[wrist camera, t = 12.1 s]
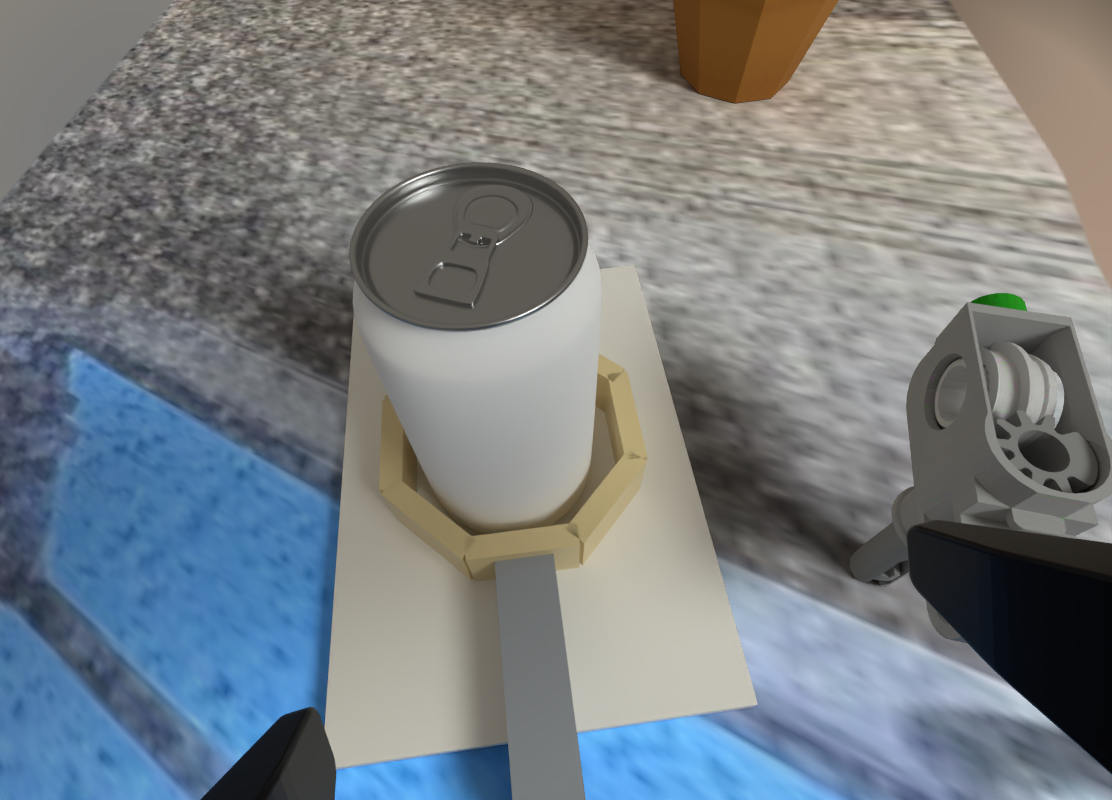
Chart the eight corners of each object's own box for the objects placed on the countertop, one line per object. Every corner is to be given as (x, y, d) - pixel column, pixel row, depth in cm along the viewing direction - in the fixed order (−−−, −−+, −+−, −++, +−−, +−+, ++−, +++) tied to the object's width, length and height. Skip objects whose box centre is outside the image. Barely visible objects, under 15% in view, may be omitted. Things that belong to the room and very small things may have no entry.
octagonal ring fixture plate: (776, 806, 19) (816, 812, 16) (325, 879, 18) (277, 900, 15) (624, 247, 32) (630, 194, 29) (363, 274, 31) (341, 222, 28)
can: (608, 418, 25) (635, 175, 15) (563, 562, 22) (560, 376, 12) (466, 381, 26) (403, 133, 16) (404, 514, 23) (275, 306, 13)
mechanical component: (833, 704, 20) (1027, 653, 12) (828, 444, 25) (958, 279, 17) (925, 727, 20) (1195, 690, 11) (900, 457, 25) (1071, 296, 17)
